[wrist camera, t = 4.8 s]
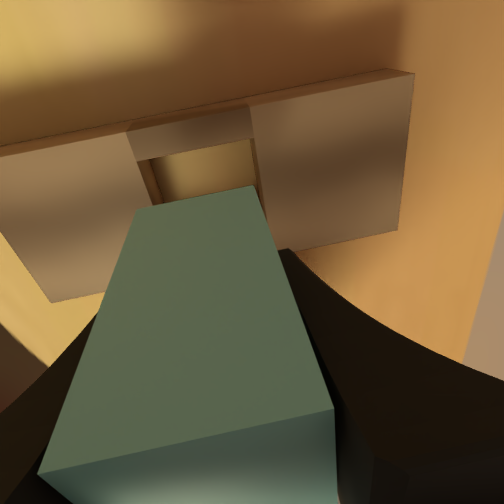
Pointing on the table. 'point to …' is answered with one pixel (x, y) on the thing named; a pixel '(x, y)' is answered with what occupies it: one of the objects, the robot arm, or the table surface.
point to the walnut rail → (201, 136)
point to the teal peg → (197, 372)
